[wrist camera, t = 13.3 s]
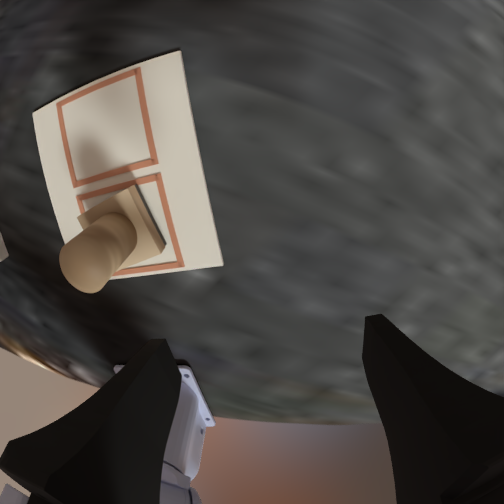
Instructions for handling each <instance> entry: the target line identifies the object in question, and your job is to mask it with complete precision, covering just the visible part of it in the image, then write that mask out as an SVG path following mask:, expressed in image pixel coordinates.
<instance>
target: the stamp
mask: <svg viewBox="0 0 504 504" xmlns="http://www.w3.org/2000/svg"><path fill="white" fill-rule="evenodd" d="M77 219H78V221H79V223H80V225H81V227H82V229H83V231H82V232H80V233H79V234H78V235H77V236H75V237H74V238H73V239H71V240H70V241H69V242H68V243H66V244H65V245H64V246H63V248H62V249H61V251H60V256H59V261H60V267H61V270H62V272H63V274H64V276H65V278H66V279H67V280H68V282H69V283H70V284H71V285H72V286H74V287H75V288H76V289H78V290H80V291H82V292H85V293H95V292H98V291H99V290H101V289H102V288H103V286H104V285H105V284H106V283H107V281H108V280H109V279H110V278H111V277H112V275H113V274H114V273H115V272H117V271H119V270H121V269H124V268H126V267H129V266H131V265H134V264H137V263H139V262H142V261H144V260H147V259H149V258H152V257H154V256H157V255H159V254H161V253H162V252H163V250H164V249H165V245H166V244H167V243H166V241H165V239H164V237H163V235H162V233H161V231H160V229H159V227H158V225H157V223H156V222H155V220H154V218H153V216H152V214H151V212H150V210H149V207H148V205H147V203H146V201H145V199H144V197H143V195H142V193H141V191H140V189H139V187H138V185H137V184H136V185H132V186H130V187H129V188H127V189H125V190H123V191H121V192H119V193H117V194H116V195H114V196H112V197H110V198H108V199H106V200H105V201H103V202H101V203H99V204H98V205H96V206H94V207H92V208H91V209H89V210H87V211H86V212H84V213H82V214H81V215H79V216H78V217H77Z"/></svg>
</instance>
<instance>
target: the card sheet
mask: <svg viewBox="0 0 504 504" xmlns="http://www.w3.org/2000/svg"><path fill="white" fill-rule="evenodd" d="M33 120H34V126H35V132H36V138H37V143H38V148H39V153H40V158H41V163H42V167H43V171H44V175H45V180H46V183H47V187H48V191H49V195H50V198H51V202H52V205H53V209H54V212H55V215H56V218H57V222H58V225H59V228H60V231H61V234H62V237H63V240H64V242H65V244H66V243H68V242H69V241H70V240H71V239H73V238H74V237H75V236H77V235H78V234H79V233H80V232H82V231H83V229H82V227H81V225H80V223H79V221H78V219H77V217H78V216H79V215H81V214H82V213H84V212H86V211H87V210H89V209H91V208H92V207H94V206H96V205H98V204H99V203H101V202H103V201H105V200H106V199H108V198H110V197H112V196H114V195H116V194H117V193H119V192H121V191H123V190H125V189H127V188H129V187H130V186H132V185H136V184H137V185H138V187H139V189H140V191H141V193H142V195H143V197H144V199H145V201H146V203H147V205H148V207H149V210H150V212H151V214H152V216H153V218H154V220H155V222H156V223H157V225H158V227H159V229H160V231H161V233H162V235H163V237H164V239H165V241H166V243H167V244H166V245H165V249H164V250H163V252H162V253H161V254H159V255H157V256H154V257H152V258H149V259H147V260H144V261H142V262H139V263H137V264H134V265H131V266H129V267H126V268H124V269H121V270H119V271H117V272H115V273H114V274H113V275H112V277H111V278H110V279H109V280H111V279H120V278H128V277H136V276H144V275H152V274H160V273H168V272H176V271H184V270H192V269H200V268H208V267H215V266H223V265H224V262H223V257H222V253H221V249H220V244H219V240H218V235H217V231H216V226H215V222H214V217H213V213H212V208H211V203H210V199H209V194H208V189H207V184H206V180H205V175H204V170H203V165H202V160H201V155H200V150H199V145H198V140H197V135H196V130H195V124H194V119H193V114H192V109H191V103H190V98H189V92H188V87H187V81H186V76H185V70H184V64H183V58H182V52H181V51H176V52H173V53H169V54H166V55H163V56H160V57H156V58H153V59H150V60H147V61H144V62H141V63H139V64H136V65H133V66H130V67H128V68H125V69H122V70H120V71H117V72H115V73H112V74H110V75H107V76H105V77H103V78H100V79H98V80H96V81H93V82H91V83H89V84H87V85H85V86H83V87H80V88H78V89H76V90H74V91H72V92H70V93H68V94H66V95H64V96H62V97H60V98H59V99H57V100H55V101H53V102H51V103H49V104H48V105H46V106H44V107H42V108H40V109H39V110H37V111H35V112H34V113H33Z"/></svg>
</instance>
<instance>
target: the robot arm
mask: <svg viewBox="0 0 504 504" xmlns="http://www.w3.org/2000/svg"><path fill="white" fill-rule="evenodd" d="M362 360H363V364H364V369H365V373H366V377H367V381H368V384H369V387H370V390H371V392H372V395H373V398H374V401H375V404H376V406H377V409H378V412H379V415H380V418H381V420H382V423H383V426H384V429H385V432H386V436H387V440H388V445H389V450H390V455H391V461H392V467H393V474H394V481H395V489H396V500H397V504H504V397H501V396H499V395H496V394H494V393H492V392H489V391H487V390H485V389H483V388H481V387H479V386H477V385H475V384H473V383H471V382H469V381H467V380H466V379H464V378H462V377H461V376H459V375H457V374H456V373H454V372H453V371H451V370H449V369H448V368H446V367H445V366H443V365H442V364H441V363H439V362H438V361H437V360H435V359H434V358H433V357H431V356H430V355H429V354H427V353H426V352H425V351H423V350H422V349H421V348H420V347H419V346H418V345H416V344H415V343H414V342H413V341H412V340H410V339H409V338H408V337H407V336H406V335H405V334H404V333H403V332H401V331H400V330H399V329H398V328H397V327H396V326H395V325H394V324H393V323H391V322H390V321H389V320H388V319H387V318H386V317H385V316H384V315H382V314H377V315H372V316H366V317H365V328H364V341H363V353H362ZM114 371H115V373H116V375H115V376H113V377H112V378H111V379H110V380H109V381H108V382H107V383H106V384H105V385H104V386H103V387H101V388H100V389H99V390H98V391H97V392H96V393H95V394H94V395H92V396H91V397H90V398H89V399H87V400H86V401H85V402H83V403H82V404H81V405H79V406H78V407H77V408H75V409H74V410H72V411H71V412H69V413H68V414H66V415H64V416H63V417H61V418H60V419H58V420H56V421H55V422H53V423H51V424H49V425H47V426H45V427H43V428H41V429H39V430H37V431H35V432H33V433H30V434H28V435H25V436H22V437H19V438H17V439H14V440H11V441H9V442H8V444H7V446H6V448H5V450H4V452H3V454H2V455H1V457H0V469H1V470H2V471H3V472H5V473H6V474H7V475H8V476H10V477H11V478H12V479H13V480H14V481H16V482H17V483H18V484H20V485H21V486H22V487H24V488H25V489H27V490H28V491H29V492H31V495H30V497H28V496H26V495H25V494H23V493H21V492H20V491H18V490H16V489H15V488H13V487H12V486H10V485H8V484H6V485H5V487H4V489H3V491H2V494H1V496H0V504H202V502H201V499H200V497H199V495H198V493H197V491H196V490H195V489H194V488H192V487H190V482H191V480H193V478H194V477H195V476H196V474H197V473H198V470H199V465H200V460H201V454H202V448H203V442H204V437H205V430H206V426H215V423H216V422H215V420H214V418H213V416H212V414H211V412H210V410H209V407H208V405H207V403H206V401H205V399H204V397H203V395H202V392H201V390H200V388H199V386H198V384H197V381H196V379H195V377H194V374H193V372H192V370H191V368H190V367H188V366H185V365H182V366H177V364H176V361H175V359H174V357H173V355H172V353H171V350H170V348H169V346H168V343H167V341H166V339H151V340H150V341H149V342H148V343H147V344H145V345H144V346H143V347H142V348H141V349H140V350H139V351H138V352H137V353H136V354H135V355H134V356H133V357H132V358H131V360H130V361H129V362H128V363H127V364H126V365H115V367H114ZM187 374H188V375H187Z"/></svg>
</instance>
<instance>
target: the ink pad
mask: <svg viewBox="0 0 504 504" xmlns="http://www.w3.org/2000/svg"><path fill="white" fill-rule="evenodd" d="M8 256H9V255H8V252H7V249H6V247H5V244H4V241H3V238H2V235H1V232H0V262H1V261H2V260H4V259H5V258H7V257H8Z"/></svg>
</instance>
